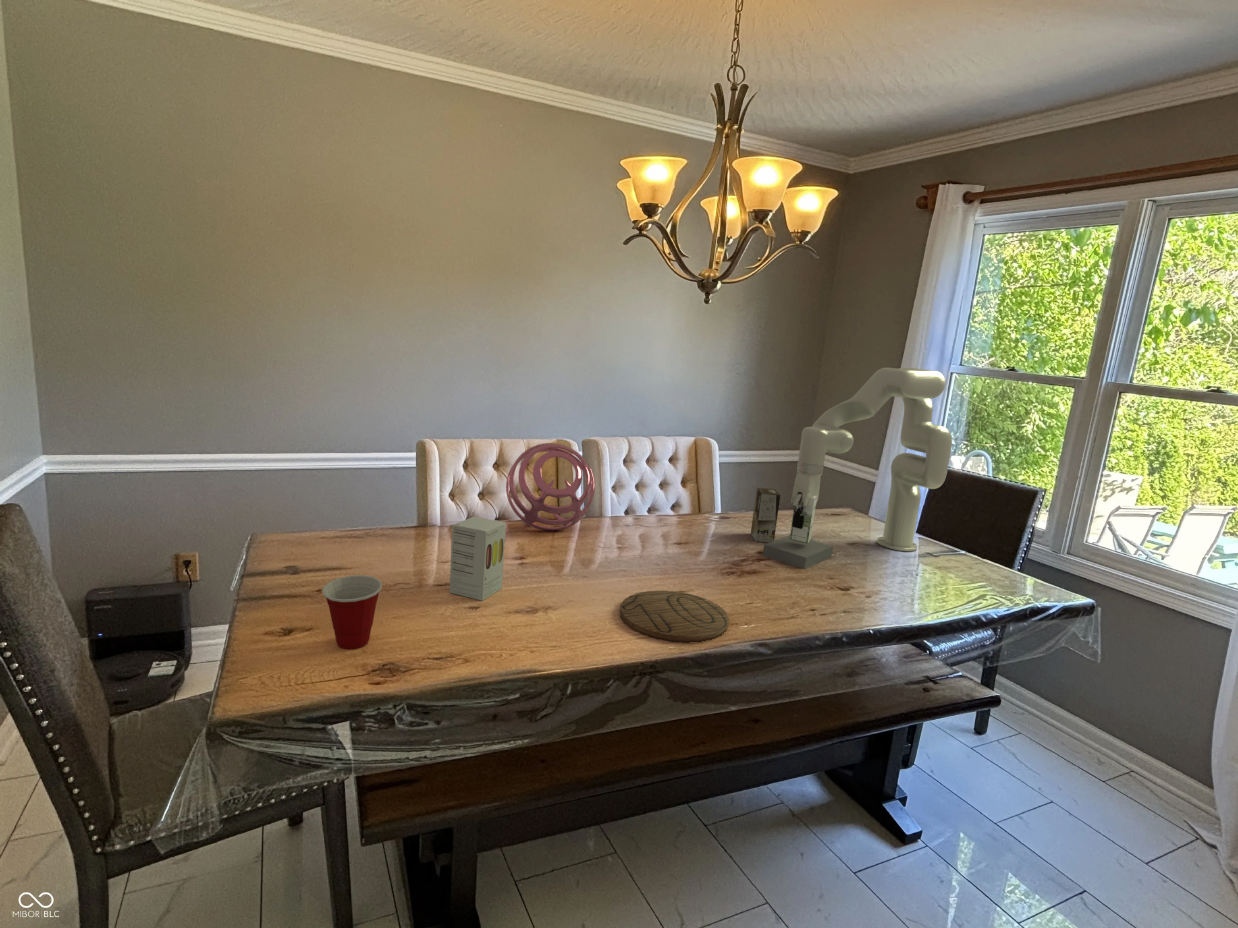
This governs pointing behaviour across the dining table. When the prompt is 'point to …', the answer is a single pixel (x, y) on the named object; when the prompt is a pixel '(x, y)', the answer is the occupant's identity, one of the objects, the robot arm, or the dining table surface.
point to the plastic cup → (352, 608)
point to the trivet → (674, 616)
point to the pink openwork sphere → (547, 489)
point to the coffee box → (765, 514)
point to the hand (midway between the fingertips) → (802, 525)
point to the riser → (797, 552)
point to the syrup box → (805, 523)
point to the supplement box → (477, 557)
